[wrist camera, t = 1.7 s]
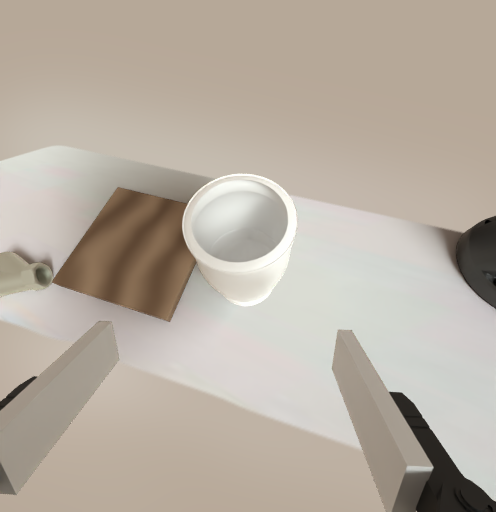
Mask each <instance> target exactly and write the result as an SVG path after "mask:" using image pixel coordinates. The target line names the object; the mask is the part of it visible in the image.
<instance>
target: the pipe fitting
mask: <svg viewBox="0 0 496 512" xmlns="http://www.w3.org/2000/svg"><path fill="white" fill-rule="evenodd" d="M52 281H53V274H52V271H51V269H50V268H49V267H48V266H47V265H45V264H43V263H41V262H38V263H33V264H29V263H27V262H26V261H25V260H24V259H22V258H21V257H20V256H18V255H17V254H16V253H13V252H3V253H0V298H1V297H2V296H5V295H9V294H14V293H18V292H23V291H27V290H35V291H37V290H42V289H46V288H47V287H48V286H49V285H51V283H52Z"/></svg>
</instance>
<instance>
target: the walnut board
mask: <svg viewBox="0 0 496 512" xmlns="http://www.w3.org/2000/svg"><path fill="white" fill-rule="evenodd" d="M187 205H188V204H186V203H182V202H178V201H173V200H169V199H165V198H161V197H156V196H152V195H148V194H144V193H140V192H135V191H131V190H127V189H123V188H119V187H118V188H117V189H116V191H115V192H114V193H113V195H112V196H111V198H110V199H109V201H108V202H107V203H106V205H105V206H104V208H103V209H102V211H101V212H100V213H99V215H98V216H97V218H96V219H95V221H94V222H93V223H92V225H91V226H90V228H89V229H88V231H87V232H86V233H85V235H84V236H83V238H82V239H81V241H80V242H79V243H78V245H77V246H76V248H75V249H74V251H73V252H72V253H71V255H70V256H69V258H68V259H67V261H66V262H65V263H64V265H63V266H62V268H61V269H60V271H59V272H58V273H57V275H56V276H55V278H54V279H53V281H52V283H55V284H57V285H59V286H62V287H65V288H68V289H71V290H74V291H77V292H80V293H83V294H86V295H90V296H93V297H96V298H99V299H102V300H105V301H108V302H111V303H114V304H117V305H120V306H123V307H126V308H129V309H132V310H135V311H138V312H141V313H144V314H147V315H150V316H154V317H157V318H160V319H163V320H166V321H169V322H170V320H171V318H172V316H173V314H174V311H175V309H176V307H177V305H178V302H179V300H180V298H181V295H182V293H183V291H184V289H185V286H186V284H187V282H188V280H189V277H190V275H191V273H192V271H193V268H194V266H195V264H196V259H195V257H194V256H193V255H192V254H191V252H190V250H189V249H188V247H187V245H186V242H185V239H184V236H183V231H182V220H183V215H184V211H185V209H186V207H187Z"/></svg>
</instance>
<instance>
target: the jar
mask: <svg viewBox="0 0 496 512" xmlns="http://www.w3.org/2000/svg"><path fill="white" fill-rule="evenodd" d="M297 226H298V217H297V211H296V208H295V205H294V203H293V201H292V199H291V197H290V196H289V195H288V193H287V192H286V191H285V190H284V189H283V188H282V187H280V186H279V185H278V184H276V183H275V182H273V181H271V180H269V179H267V178H264V177H261V176H257V175H252V174H233V175H227V176H223V177H220V178H218V179H215V180H213V181H211V182H209V183H208V184H206V185H205V186H203V187H202V188H201V189H199V190H198V191H197V192H196V193H195V194H194V196H193V197H192V198H191V200H190V201H189V203H188V205H187V207H186V209H185V211H184V215H183V220H182V231H183V236H184V239H185V242H186V245H187V247H188V249H189V250H190V252H191V254H192V255H193V256H194V257H195V259H196V262H197V265H198V267H199V269H200V271H201V273H202V275H203V276H204V278H205V279H206V280H207V282H208V283H209V284H210V285H211V286H212V287H213V288H214V289H216V290H217V291H218V292H220V293H221V294H222V295H223V296H224V297H225V298H226V299H227V300H229V301H230V302H232V303H234V304H236V305H240V306H251V305H255V304H258V303H260V302H262V301H263V300H264V299H266V298H267V297H268V296H269V294H270V293H271V291H272V289H273V288H274V287H275V285H276V284H277V283H278V282H279V280H280V279H281V278H282V276H283V274H284V272H285V270H286V268H287V265H288V262H289V258H290V253H291V246H292V244H293V242H294V239H295V236H296V232H297Z"/></svg>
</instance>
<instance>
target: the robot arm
mask: <svg viewBox="0 0 496 512" xmlns="http://www.w3.org/2000/svg"><path fill="white" fill-rule="evenodd" d="M456 252H457V261H458V264H459V267H460V270H461V272H462V274H463V276H464V277H465V279H466V280H467V282H468V283H469V285H470V286H471V287H472V288H473V289H474V290H475V291H476V292H477V293H478V294H479V295H480V296H481V297H482V298H483V299H484V300H485V301H487V302H488V303H489V304H491V305H492V306H494V307H495V308H496V216H494V217H491V218H488V219H485V220H483V221H481V222H479V223H478V224H476V225H475V226H473V227H472V228H470V229H469V230H467V231H466V232H465V233H464V234H463V235H462V236H461V238H460V239H459V242H458V245H457V251H456ZM118 361H119V355H118V350H117V345H116V340H115V335H114V330H113V325H112V322H109V321H99V322H98V323H96V324H95V325H94V326H93V327H92V328H91V329H90V330H89V331H88V332H87V333H85V334H84V335H83V336H82V337H81V338H80V339H79V340H78V341H77V342H76V343H74V344H73V345H72V346H71V347H70V348H69V349H68V350H67V351H66V352H65V353H64V354H62V355H61V356H60V357H59V358H58V359H57V360H56V361H55V362H54V363H52V364H51V365H50V366H49V367H48V368H47V369H46V370H45V371H44V372H43V373H41V374H40V375H39V376H38V377H35V376H34V377H32V378H30V379H29V380H27V381H25V382H24V383H22V384H20V385H19V386H18V387H17V388H15V389H14V390H13V391H12V392H11V393H10V394H8V395H7V397H6V398H5V399H3V400H2V401H0V494H13V495H17V494H18V492H19V491H20V490H21V488H22V487H23V486H24V484H25V483H26V482H27V480H28V479H29V478H30V476H31V475H32V474H33V472H34V471H35V470H36V468H37V467H38V466H39V464H40V463H41V462H42V461H43V459H44V458H45V457H46V455H47V454H48V453H49V451H50V450H51V449H52V447H53V446H54V445H55V443H56V442H57V441H58V440H59V438H60V437H61V436H62V434H63V433H64V432H65V430H66V429H67V428H68V426H69V425H70V424H71V422H72V421H73V420H74V419H75V417H76V416H77V415H78V413H79V412H80V411H81V409H82V408H83V407H84V405H85V404H86V403H87V401H88V400H89V399H90V397H91V396H92V395H93V394H94V392H95V391H96V390H97V388H98V387H99V386H100V384H101V383H102V382H103V380H104V379H105V377H106V376H107V375H108V374H109V372H110V371H111V370H112V369H113V367H114V366H115V365H116V363H117V362H118ZM332 370H333V373H334V375H335V378H336V381H337V383H338V386H339V389H340V391H341V394H342V397H343V399H344V402H345V405H346V407H347V410H348V412H349V415H350V418H351V420H352V423H353V426H354V428H355V431H356V434H357V436H358V439H359V442H360V444H361V447H362V450H363V452H364V455H365V457H366V460H367V463H368V465H369V468H370V471H371V473H372V476H373V478H374V481H375V484H376V487H377V489H378V492H379V495H380V497H381V500H382V503H383V505H384V508H385V511H386V512H416V511H417V512H496V502H495V501H493V500H492V499H491V498H490V497H489V496H488V495H487V494H486V493H485V492H484V491H483V490H482V489H481V488H480V487H479V486H477V485H476V484H475V483H473V482H472V481H470V480H468V479H466V478H464V476H463V475H462V474H461V472H460V471H459V470H458V468H457V467H456V465H455V464H454V462H453V461H452V459H451V458H450V456H449V455H448V453H447V452H446V450H445V449H444V448H443V446H442V445H441V443H440V442H439V440H438V439H437V437H436V436H435V434H434V433H433V431H432V430H431V429H430V428H429V425H428V424H427V422H426V421H425V420H424V419H423V418H422V415H421V414H420V412H419V411H418V409H417V408H416V406H415V405H414V403H413V402H411V401H410V400H409V399H408V398H407V397H406V396H405V395H404V394H403V393H400V392H388V390H387V388H386V387H385V385H384V383H383V382H382V380H381V378H380V377H379V375H378V373H377V372H376V370H375V368H374V367H373V365H372V363H371V362H370V360H369V358H368V357H367V355H366V353H365V352H364V350H363V348H362V347H361V345H360V343H359V342H358V340H357V338H356V337H355V335H354V333H353V332H352V330H338V332H337V339H336V345H335V351H334V358H333V364H332Z"/></svg>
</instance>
